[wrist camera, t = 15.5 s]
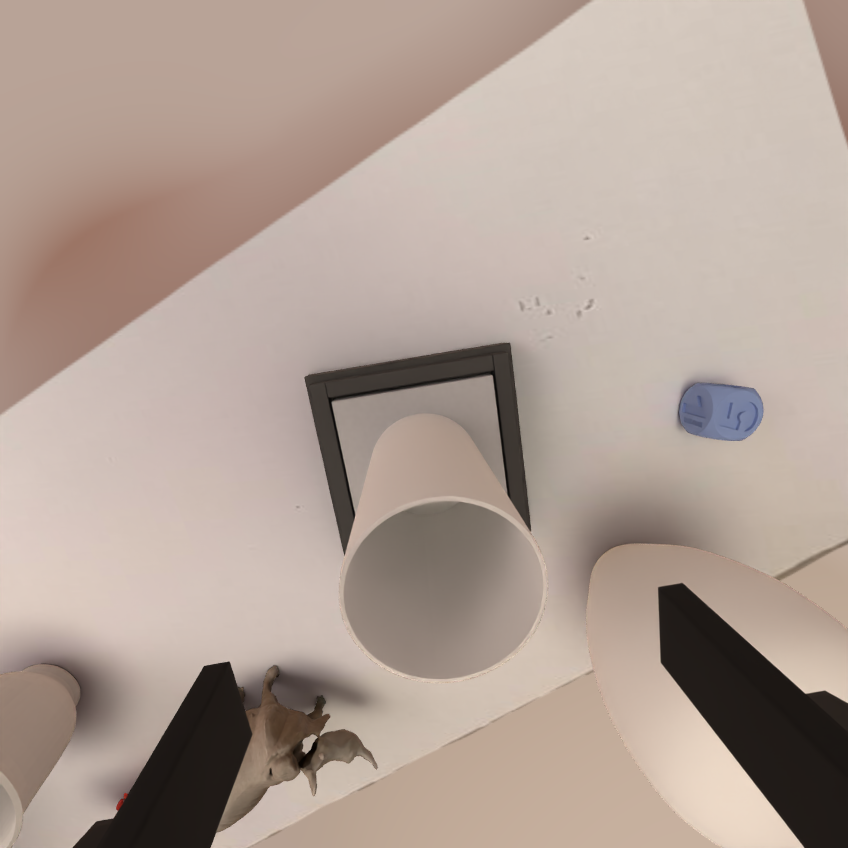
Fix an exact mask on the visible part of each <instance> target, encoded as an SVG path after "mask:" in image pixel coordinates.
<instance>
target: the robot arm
mask: <svg viewBox="0 0 848 848" xmlns="http://www.w3.org/2000/svg"><path fill="white" fill-rule="evenodd" d="M658 604H659V632H660V661H661V664H662V665H663V666H664V668H665V669H666V670H667V671H668V673H669V674H670V675H671V677H672V678H673V679H674V680H675V682H676V683H677V684H678V686H679V687H680V688H681V689H682V691H683V692H684V693H685V695H686V696H687V697H688V698H689V700H690V701H691V702H692V704H693V705H694V706H695V708H696V709H697V710H698V711H699V713H700V714H701V715H702V717H703V718H704V719H705V720H706V722H707V723H708V724H709V726H710V727H711V728H712V729H713V731H714V732H715V733H716V735H717V736H718V737H719V738H720V740H721V741H722V742H723V744H724V745H725V746H726V747H727V749H728V750H729V751H730V753H731V754H732V755H733V756H734V758H735V759H736V760H737V762H738V763H739V764H740V765H741V767H742V768H743V769H744V771H745V772H746V773H747V774H748V776H749V777H750V778H751V780H752V781H753V782H754V784H755V785H756V786H757V787H758V789H759V790H760V791H761V793H762V794H763V795H764V796H765V798H766V799H767V800H768V802H769V803H770V804H771V805H772V807H773V808H774V809H775V811H776V812H777V813H778V814H779V816H780V817H781V818H782V820H783V821H784V822H785V823H786V825H787V826H788V827H789V829H790V830H791V831H792V832H793V834H794V835H795V836H796V838H797V839H798V840H799V841H800V843H801V844H802V845H803V847H804V848H848V703H847V702H845V701H843V700H841V699H840V698H838V697H836V696H834V695H832V694H831V693H829V692H827V691H825V690H824V691H819V692H813V693H807V694H805V693H804V692H803V691H802V690H801V689H800V688H799V687H798V686H796V685H795V684H794V683H793V682H792V681H791V680H790V679H789V678H788V677H786V676H785V675H784V674H783V673H782V672H781V671H780V670H779V669H778V668H776V667H775V666H774V665H773V664H772V663H771V662H770V661H769V660H768V659H766V658H765V657H764V656H763V655H762V654H761V653H760V652H759V651H758V650H757V649H755V648H754V647H753V646H752V645H751V644H750V643H749V642H748V641H747V640H745V639H744V638H743V637H742V636H741V635H740V634H739V633H738V632H737V631H735V630H734V629H733V628H732V627H731V626H730V625H729V624H728V623H727V622H725V621H724V620H723V619H722V618H721V617H720V616H719V615H718V614H717V613H715V612H714V611H713V610H712V609H711V608H710V607H709V606H708V605H707V604H705V603H704V602H703V601H702V600H701V599H700V598H699V597H698V596H697V595H696V594H694V593H693V592H692V591H691V590H690V589H689V588H688V587H687V586H686V585H684V584H683V583H678V584H673V585H667V586H661V587H658ZM252 735H253V734H252V731H251V728H250V725H249V721H248V718H247V715H246V712H245V709H244V706H243V702H242V699H241V696H240V693H239V690H238V687H237V683H236V680H235V677H234V674H233V671H232V668H231V664H230V662H224V663H218V664H212V665H207V666H204V667H203V669H202V671H201V672H200V674H199V676H198V677H197V679H196V681H195V682H194V684H193V686H192V687H191V689H190V691H189V692H188V694H187V696H186V697H185V699H184V701H183V703H182V704H181V706H180V708H179V709H178V711H177V713H176V714H175V716H174V718H173V719H172V721H171V723H170V724H169V726H168V728H167V730H166V731H165V733H164V735H163V736H162V738H161V740H160V741H159V743H158V745H157V746H156V748H155V750H154V751H153V753H152V755H151V757H150V758H149V760H148V762H147V763H146V765H145V767H144V768H143V770H142V772H141V773H140V775H139V777H138V778H137V780H136V782H135V784H134V785H133V787H132V789H131V790H130V792H129V794H128V795H127V797H126V799H125V800H124V802H123V804H122V805H121V807H120V809H119V811H118V812H117V814H116V816H115V817H114V819H108V820H103V821H97V822H96V823H95V824H94V825H93V826H92V827H91V828H90V829H89V830H88V831H87V832H86V834H85V835H84V836H83V837H82V838H81V839H80V840H79V841H78V842H77V843H76V845H75V846H74V847H73V848H211V845H212V842H213V840H214V837H215V834H216V831H217V829H218V826H219V823H220V821H221V818H222V815H223V813H224V810H225V807H226V805H227V802H228V799H229V797H230V794H231V791H232V789H233V786H234V783H235V780H236V778H237V775H238V772H239V770H240V767H241V764H242V762H243V759H244V756H245V754H246V751H247V748H248V746H249V743H250V740H251V737H252Z"/></svg>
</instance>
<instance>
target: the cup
mask: <svg viewBox="0 0 848 848" xmlns="http://www.w3.org/2000/svg"><path fill="white" fill-rule="evenodd" d="M547 595H548V577H547V570H546V566H545V562H544V559H543V556H542V554H541V551H540V548H539V546H538V544H537V542H536V540H535V538H534V537H533V535H532V534H531V532H530V530H529V529H528V527H527V526H526V524H525V522H524V521H523V519H522V518H521V516H520V514H519V513H518V511H517V510H516V508H515V507H514V505H513V503H512V502H511V500H510V499H509V497H508V496H507V494H506V492H505V491H504V489H503V488H502V486H501V484H500V483H499V481H498V480H497V478H496V477H495V475H494V473H493V472H492V470H491V469H490V467H489V466H488V464H487V462H486V461H485V459H484V458H483V456H482V455H481V453H480V451H479V450H478V448H477V447H476V445H475V444H474V442H473V440H472V439H471V437H470V436H469V434H468V433H467V432H466V431H465V430H464V429H463V428H462V427H461V426H460V425H459V424H457V423H456V422H454V421H453V420H451V419H449V418H447V417H444V416H441V415H437V414H430V413H421V414H414V415H410V416H407V417H404V418H402V419H400V420H398V421H396V422H395V423H393V424H392V425H391V426H389V427H388V428H387V429H386V430H385V431H384V432H383V433H382V435H381V436H380V437H379V439H378V441H377V442H376V444H375V447H374V449H373V453H372V456H371V460H370V464H369V467H368V471H367V475H366V479H365V482H364V486H363V490H362V493H361V497H360V501H359V504H358V508H357V512H356V516H355V519H354V523H353V527H352V530H351V534H350V538H349V542H348V545H347V549H346V553H345V557H344V560H343V564H342V568H341V573H340V582H339V604H340V610H341V614H342V618H343V621H344V624H345V626H346V628H347V630H348V632H349V634H350V636H351V638H352V639H353V641H354V642H355V644H356V645H357V646H358V647H359V648H360V650H361V651H362V652H363V653H364V654H365V655H366V656H367V657H368V658H370V659H371V660H372V661H373V662H374V663H376V664H377V665H379V666H380V667H382V668H384V669H385V670H387V671H389V672H391V673H393V674H396V675H398V676H401V677H404V678H407V679H410V680H415V681H420V682H427V683H451V682H458V681H464V680H468V679H472V678H475V677H478V676H481V675H483V674H486V673H488V672H490V671H492V670H494V669H496V668H498V667H499V666H501V665H503V664H504V663H505V662H507V661H508V660H510V659H511V658H512V657H513V656H514V655H516V654H517V653H518V652H519V651H520V650H521V649H522V648H523V647H524V646H525V644H526V643H527V642H528V641H529V640H530V638H531V637H532V635H533V634H534V632H535V631H536V629H537V627H538V625H539V623H540V621H541V618H542V616H543V613H544V610H545V606H546V601H547Z"/></svg>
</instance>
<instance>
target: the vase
mask: <svg viewBox="0 0 848 848" xmlns="http://www.w3.org/2000/svg"><path fill="white" fill-rule="evenodd" d="M678 583H683V584H684V585H686V586H687V587H688V588H689V589H690V590H691V591H692V592H693V593H694V594H696V595H697V596H698V597H699V598H700V599H701V600H702V601H703V602H704V603H705V604H707V605H708V606H709V607H710V608H711V609H712V610H713V611H714V612H715V613H717V614H718V615H719V616H720V617H721V618H722V619H723V620H724V621H725V622H727V623H728V624H729V625H730V626H731V627H732V628H733V629H734V630H735V631H737V632H738V633H739V634H740V635H741V636H742V637H743V638H744V639H745V640H747V641H748V642H749V643H750V644H751V645H752V646H753V647H754V648H755V649H757V650H758V651H759V652H760V653H761V654H762V655H763V656H764V657H765V658H766V659H768V660H769V661H770V662H771V663H772V664H773V665H774V666H775V667H776V668H778V669H779V670H780V671H781V672H782V673H783V674H784V675H785V676H786V677H788V678H789V679H790V680H791V681H792V682H793V683H794V684H795V685H796V686H798V687H799V688H800V689H801V690H802V691H803V692H804V693H805V694H807V693H813V692H819V691H824V690H825V691H827V692H829V693H831V694H832V695H834V696H836V697H838V698H840V699H841V700H843V701H845V702H847V703H848V629H847V628H846V627H845V626H844V625H843V624H842V623H841V622H839V621H838V620H837V619H835V618H834V617H833V616H831V615H830V614H829V613H827V612H826V611H825V610H823V609H822V608H821V607H819V606H817V605H816V604H815V603H814V602H812V601H811V600H809V599H808V598H806V597H805V596H803V595H802V594H800V593H799V592H797V591H796V590H794V589H793V588H791V587H789V586H788V585H786V584H784V583H782V582H781V581H779V580H777V579H775V578H773V577H771V576H769V575H767V574H765V573H762V572H760V571H758V570H756V569H753V568H751V567H749V566H746V565H744V564H741V563H739V562H736V561H734V560H731V559H728V558H726V557H723V556H720V555H717V554H714V553H711V552H707V551H704V550H700V549H697V548H692V547H686V546H679V545H668V544H625V545H619V546H616V547H613V548H612V549H610V550H608V551H607V552H605V553H604V554H603V555H602V556H601V557H600V558H599V559H598V560H597V562H596V564H595V566H594V568H593V571H592V574H591V578H590V584H589V592H588V601H587V610H586V635H587V641H588V647H589V653H590V657H591V661H592V665H593V669H594V673H595V676H596V680H597V683H598V686H599V690H600V693H601V695H602V698H603V701H604V704H605V707H606V709H607V712H608V714H609V716H610V719H611V721H612V722H613V724H614V726H615V728H616V730H617V732H618V734H619V736H620V738H621V739H622V741H623V743H624V745H625V746H626V748H627V750H628V751H629V753H630V755H631V756H632V758H633V759H634V761H635V762H636V764H637V766H638V767H639V769H640V770H641V772H642V773H643V774H644V775H645V777H646V778H647V780H648V781H649V783H650V784H651V785H652V786H653V788H654V789H655V790H656V792H657V793H658V794H659V796H660V797H661V798H662V799H663V800H664V801H665V802H666V803H667V804H668V806H670V808H671V809H672V810H673V811H674V812H675V813H676V814H677V815H678V816H679V817H680V818H681V819H682V820H683V821H685V822H686V823H687V824H689V825H690V826H691V827H692V828H694V829H695V830H697V831H698V832H699V833H700V834H702V835H703V836H704V837H706V838H707V839H709V840H710V841H712V842H713V843H714V844H717V845H718V846H720V847H722V848H804V847H803V845H802V844H801V843H800V841H799V840H798V839H797V838H796V836H795V835H794V834H793V832H792V831H791V830H790V829H789V827H788V826H787V825H786V823H785V822H784V821H783V820H782V818H781V817H780V816H779V814H778V813H777V812H776V811H775V809H774V808H773V807H772V805H771V804H770V803H769V802H768V800H767V799H766V798H765V796H764V795H763V794H762V793H761V791H760V790H759V789H758V787H757V786H756V785H755V784H754V782H753V781H752V780H751V778H750V777H749V776H748V774H747V773H746V772H745V771H744V769H743V768H742V767H741V765H740V764H739V763H738V762H737V760H736V759H735V758H734V756H733V755H732V754H731V753H730V751H729V750H728V749H727V747H726V746H725V745H724V744H723V742H722V741H721V740H720V738H719V737H718V736H717V735H716V733H715V732H714V731H713V729H712V728H711V727H710V726H709V724H708V723H707V722H706V720H705V719H704V718H703V717H702V715H701V714H700V713H699V711H698V710H697V709H696V708H695V706H694V705H693V704H692V702H691V701H690V700H689V698H688V697H687V696H686V695H685V693H684V692H683V691H682V689H681V688H680V687H679V686H678V684H677V683H676V682H675V680H674V679H673V678H672V677H671V675H670V674H669V673H668V671H667V670H666V669H665V668H664V666H663V665H662V664H661V661H660V632H659V604H658V587H661V586H667V585H673V584H678Z"/></svg>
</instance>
